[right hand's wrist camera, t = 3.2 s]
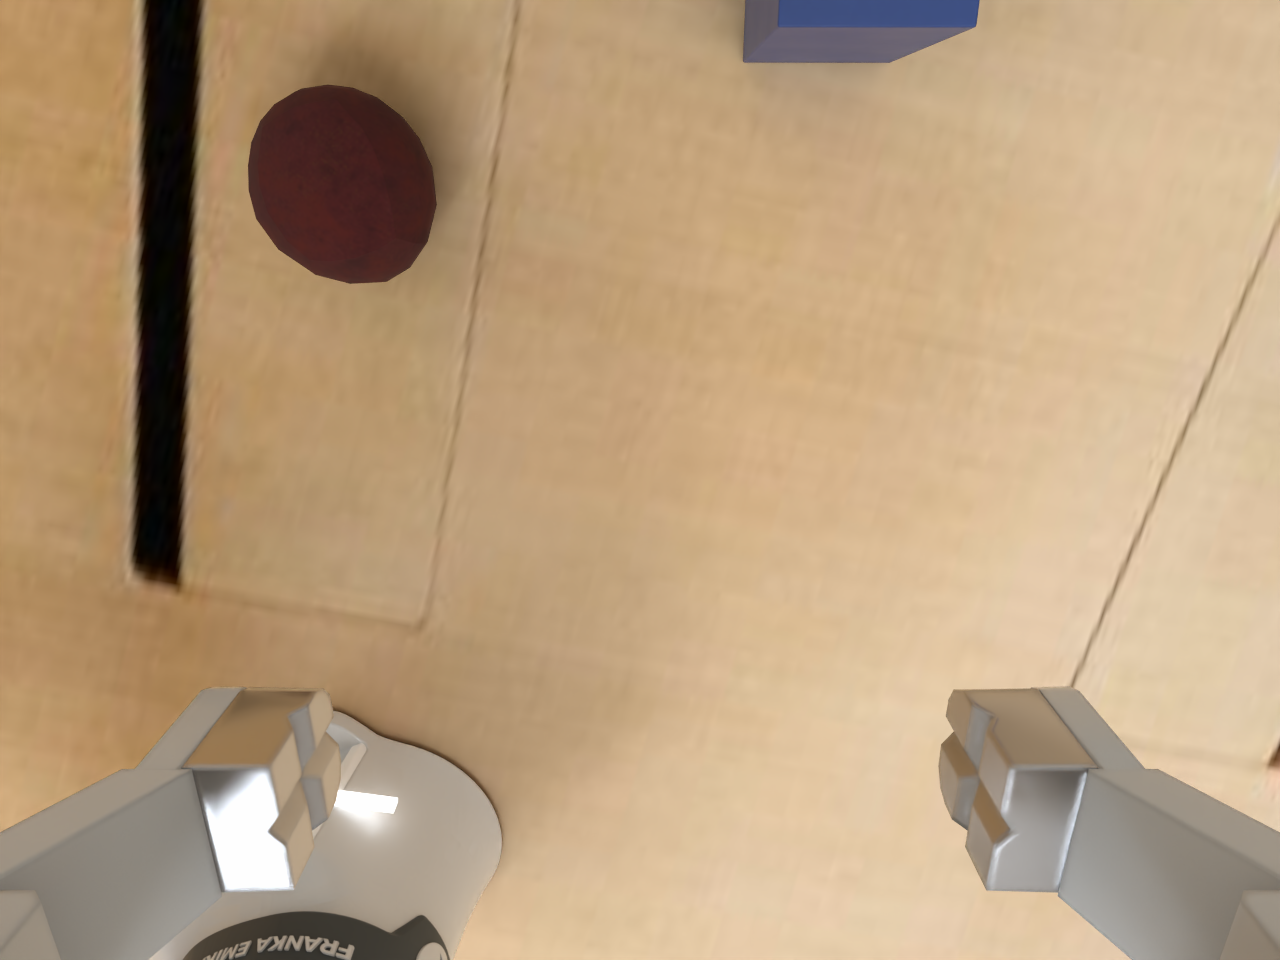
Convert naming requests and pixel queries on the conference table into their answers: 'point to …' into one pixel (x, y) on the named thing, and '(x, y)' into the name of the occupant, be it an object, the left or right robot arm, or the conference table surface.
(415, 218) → the potato
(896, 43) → the box
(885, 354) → the conference table surface
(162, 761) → the right robot arm
